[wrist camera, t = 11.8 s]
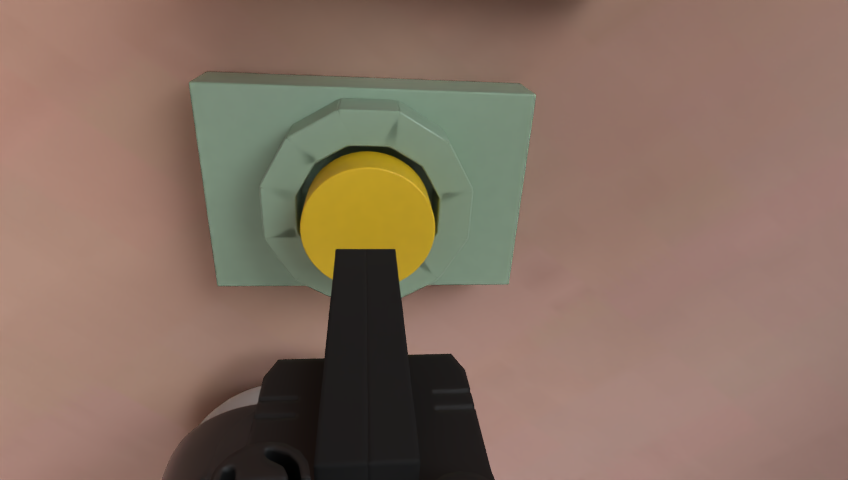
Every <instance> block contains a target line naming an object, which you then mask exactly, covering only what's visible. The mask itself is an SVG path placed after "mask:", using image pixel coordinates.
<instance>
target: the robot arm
mask: <svg viewBox="0 0 848 480" xmlns="http://www.w3.org/2000/svg"><path fill="white" fill-rule="evenodd" d="M210 480H495V479H494V477H493V474H492V472H491V469H490V465H489V461H488V457H487V453H486V449H485V445H484V442H483V438H482V434H481V430H480V426H479V422H478V418H477V414H476V411H475V410H474V403H473V399H472V395H471V393H470V387H469V383H468V380H467V376H466V372H465V370H464V368H463V367H462V366H461V365H460V364H459V363H458V361H457V360H456V359H455V358H454V357H453V356H452V354H425V355H408V352H407V343H406V335H405V326H404V318H403V309H402V301H401V292H400V284H399V275H398V267H397V258H396V250H395V249H336V251H335V261H334V271H333V280H332V290H331V300H330V310H329V320H328V330H327V339H326V349H325V358H324V359H283V360H278V361H277V362H276V363H275V364H274V366H273V367H272V368H271V369H270V370H269V371H268V373H267V374H266V375H265V376H264V378H263V382H262V386H261V390H260V394H259V398H258V402H257V406H256V410H255V414H254V419H253V422H252V426H251V430H250V434H249V438H248V442H247V446H245V447H243V448H241V449H239V450H237V451H235V452H233V453H231V454H230V455H229V456H228V457H227V458H226V459H225V460H224V461H222V462H221V463H220V464H219V465H218V466H217V467H216V469H215V471H214V472H213V474H212V476H211V478H210Z"/></svg>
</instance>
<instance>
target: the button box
mask: <svg viewBox="0 0 848 480" xmlns="http://www.w3.org/2000/svg"><path fill="white" fill-rule="evenodd" d="M189 89H190V96H191V103H192V110H193V117H194V124H195V131H196V138H197V145H198V152H199V159H200V166H201V173H202V180H203V187H204V194H205V201H206V208H207V215H208V223H209V230H210V237H211V244H212V251H213V258H214V265H215V272H216V279H217V285H218V286H308V287H310V288H312V289H314V290H316V291H319V292H321V293H323V294H325V295H327V296H329V297H331V290H332V279H330V278H329V277H327V276H326V275H324V274H323V273H322V272H321V271H320V270H319V269H318V268H316V266H315V265H314V264H313V263H312V262H311V260H310V259H309V257H308V255H307V254H306V252H305V249H304V247H303V244H302V240H301V235H300V220H301V214H302V211H303V207H304V203H305V200H306V196H307V193H308V190H309V187H310V185H311V183H312V181H313V180H314V178H315V177H316V175H317V174H318V173H319V172H320V171H321V170H322V168H324V167H325V166H326V165H327V164H329V163H330V162H332V161H333V160H335V159H337V158H339V157H341V156H343V155H347V154H350V153H354V152H360V151H373V152H380V153H385V154H388V155H391V156H394V157H396V158H398V159H400V160H401V161H403V162H404V163H406V164H407V165H409V166H410V167H411V168H412V169H413V170H414V171H415V172H416V173H417V174H418V176H419V177H420V178H421V180H422V182H423V183H424V185H425V188H426V190H427V193H428V196H429V200H430V203H431V207H432V210H433V214H434V219H435V236H434V241H433V245H432V248H431V250H430V252H429V254H428V256H427V257H426V259H425V261H424V262H423V263H422V264H421V266H420V267H419V268H418V269H417V270H416V271H415V272H414V273H412V274H411V275H409V276H408V277H407V278H405V279H403V280H401V281H399V284H400V292H401V298H402V297H404V296H406V295H408V294H410V293H412V292H414V291H416V290H418V289H421V288H423V287H425V286H427V285H497V284H509V278H510V271H511V265H512V258H513V251H514V244H515V237H516V230H517V223H518V216H519V210H520V203H521V196H522V189H523V182H524V175H525V168H526V161H527V155H528V148H529V141H530V134H531V127H532V120H533V113H534V106H535V100H536V94H534V93H533V92H531V91H530V90H529V89H527V88H526V87H524V86H523V85H521V84H520V83H495V82H469V81H443V80H416V79H390V78H364V77H337V76H311V75H285V74H258V73H232V72H205V73H204V74H202V75H200V76H199V77H197V78H195V79H193V80H192V81H190V82H189Z"/></svg>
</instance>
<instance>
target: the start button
mask: <svg viewBox="0 0 848 480" xmlns="http://www.w3.org/2000/svg"><path fill="white" fill-rule="evenodd" d="M300 235H301V240H302V244H303V247H304V249H305V252H306V254H307V255H308V257H309V259H310V260H311V262H312V263H313V264H314V265H315V266H316V268H318V269H319V270H320V271H321V272H322V273H323V274H324V275H326V276H327V277H329V278H330V279H332V280H333V271H334V261H335V251H336V249H395V250H396V258H397V267H398V275H399V281H401V280H403V279H405V278H407V277H408V276H409V275H411V274H412V273H414V272H415V271H416V270H417V269H418V268H419V267H420V266H421V264H422V263H423V262H424V261H425V259H426V257H427V256H428V254H429V252H430V250H431V248H432V245H433V241H434V236H435V219H434V214H433V210H432V207H431V203H430V200H429V196H428V193H427V190H426V188H425V185H424V183H423V182H422V180H421V178H420V177H419V176H418V174H417V173H416V172H415V171H414V170H413V169H412V168H411V167H410V166H409V165H407V164H406V163H404V162H403V161H401V160H400V159H398V158H396V157H394V156H391V155H388V154H385V153H380V152H373V151H360V152H354V153H350V154H347V155H343V156H341V157H339V158H337V159H335V160H333V161H332V162H330V163H329V164H327V165H326V166H325V167H324V168H322V170H321V171H320V172H319V173H318V174H317V175H316V177H315V178H314V180H313V181H312V183H311V185H310V187H309V190H308V193H307V196H306V200H305V203H304V207H303V211H302V214H301V220H300Z"/></svg>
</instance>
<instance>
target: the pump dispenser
mask: <svg viewBox="0 0 848 480" xmlns="http://www.w3.org/2000/svg"><path fill="white" fill-rule="evenodd" d="M260 390H261V386H259V387H255V388H252V389H249V390H246V391H244V392H242V393H240V394H237V395H235V396H234V397H232V398H230V399H228V400H227V401H225V402H224V403H222V404H221V405H220V406H218V407H217V408H216V409H215V410H213V411H212V412H211V413H210V414H209V415H208V416H207V417H206V418H205V419H204V420H203V421H202V422H201V423H200V424H199V426H197V427H196V428H195V429H193V430H192V431H191V432H190V433H189V434H188V435H187V436H186V437H185V438H184V439H183V440H182V441H181V442H180V443H179V445H178V446H177V447H176V449H175V450H174V452H173V454H172V455H171V458H170V460H169V462H168V464H167V467H166V469H165V472H164V474H163V477H162V480H210V478H211V476H212V474H213V472H214V471H215V469H216V467H217V466H218V465H219V464H220V463H221V462H222V461H224V460H225V459H226V458H227V457H228V456H229V455H230V454H231V453H233V452H235V451H237V450H239V449H241V448H243V447H245V446H247V442H248V438H249V434H250V430H251V426H252V422H253V419H254V414H255V410H256V406H257V402H258V398H259V394H260Z"/></svg>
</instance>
